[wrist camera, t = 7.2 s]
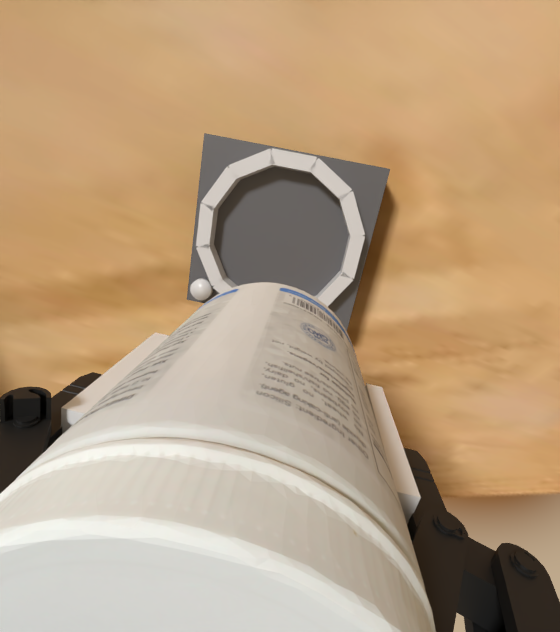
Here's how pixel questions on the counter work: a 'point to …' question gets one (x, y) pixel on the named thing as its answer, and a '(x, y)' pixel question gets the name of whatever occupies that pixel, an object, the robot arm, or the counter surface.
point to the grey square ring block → (282, 221)
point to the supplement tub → (218, 491)
